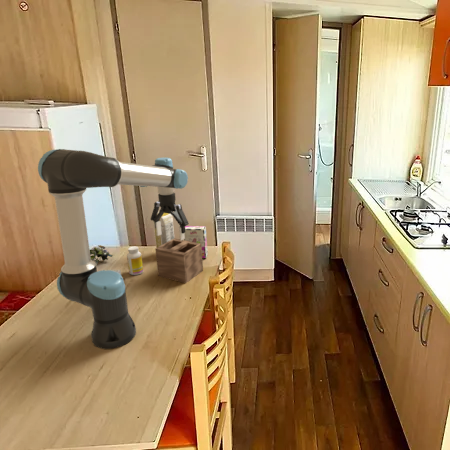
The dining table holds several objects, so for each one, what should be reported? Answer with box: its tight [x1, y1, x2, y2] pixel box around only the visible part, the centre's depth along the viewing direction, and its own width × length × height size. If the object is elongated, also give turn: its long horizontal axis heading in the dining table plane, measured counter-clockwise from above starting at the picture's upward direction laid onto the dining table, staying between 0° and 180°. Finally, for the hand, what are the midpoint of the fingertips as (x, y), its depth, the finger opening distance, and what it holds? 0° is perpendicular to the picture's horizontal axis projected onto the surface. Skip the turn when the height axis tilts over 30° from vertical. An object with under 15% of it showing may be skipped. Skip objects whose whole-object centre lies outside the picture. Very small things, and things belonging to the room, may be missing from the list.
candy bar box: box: [183, 225, 209, 259], centre depth 190 cm, size 11×5×16 cm, turn 80°
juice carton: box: [152, 211, 175, 249], centre depth 193 cm, size 9×8×24 cm
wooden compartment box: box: [154, 237, 204, 284], centre depth 173 cm, size 14×16×14 cm
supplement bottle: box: [126, 246, 144, 276], centre depth 176 cm, size 7×7×13 cm
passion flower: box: [89, 245, 113, 266], centre depth 188 cm, size 11×11×12 cm
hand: (170, 237), depth 172 cm, fingers open, 13 cm apart
